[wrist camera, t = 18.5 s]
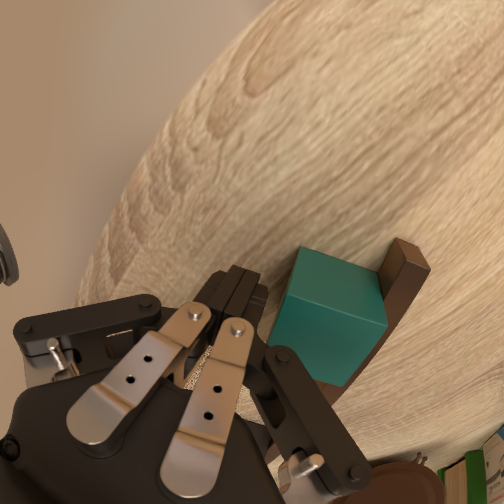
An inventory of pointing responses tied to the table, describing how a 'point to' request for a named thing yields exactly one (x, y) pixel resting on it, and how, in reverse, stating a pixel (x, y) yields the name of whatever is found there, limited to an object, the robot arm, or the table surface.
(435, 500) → the alarm clock
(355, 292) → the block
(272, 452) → the rail
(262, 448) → the middle block
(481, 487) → the hardback book
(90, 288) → the table surface
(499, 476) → the ink box
